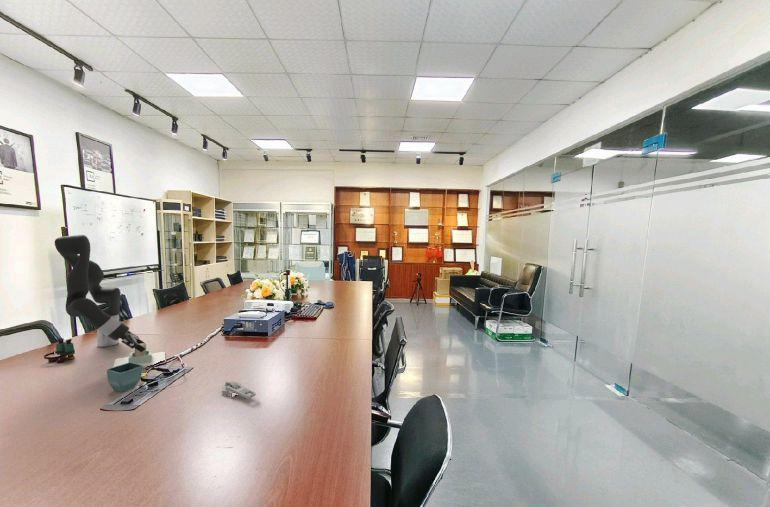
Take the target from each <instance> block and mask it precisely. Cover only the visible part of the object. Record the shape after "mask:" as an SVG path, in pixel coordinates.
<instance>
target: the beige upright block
mask: <svg viewBox="0 0 770 507" xmlns="http://www.w3.org/2000/svg"><path fill="white" fill-rule="evenodd" d="M144 343H145V342H144ZM144 343H143V344H140V345H141V346H143V347H144V348H145V350H144V351H143V352H140V351H138V350H137V349H135V348H134V352H135V356H142V355H146V350H147V344H144Z"/></svg>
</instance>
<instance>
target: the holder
mask: <svg viewBox="0 0 770 507" xmlns="http://www.w3.org/2000/svg"><path fill="white" fill-rule="evenodd" d="M152 351H153V349H146V355H142V356H135V351H133V352H132V351H131V352H129V354H128V356H125V357H120V358H115V361H114V364H113V366H112V368H113V367H116V366H120V365H123V364H126V363H129V362H132V363H136V364H140V365H143V369H146V367H147V366H150V365H154V364H156V363H158V362H160V361H163V360H165V361H166V352H165V351H159V352H154V353H153V352H152ZM147 368H148V367H147Z"/></svg>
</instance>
